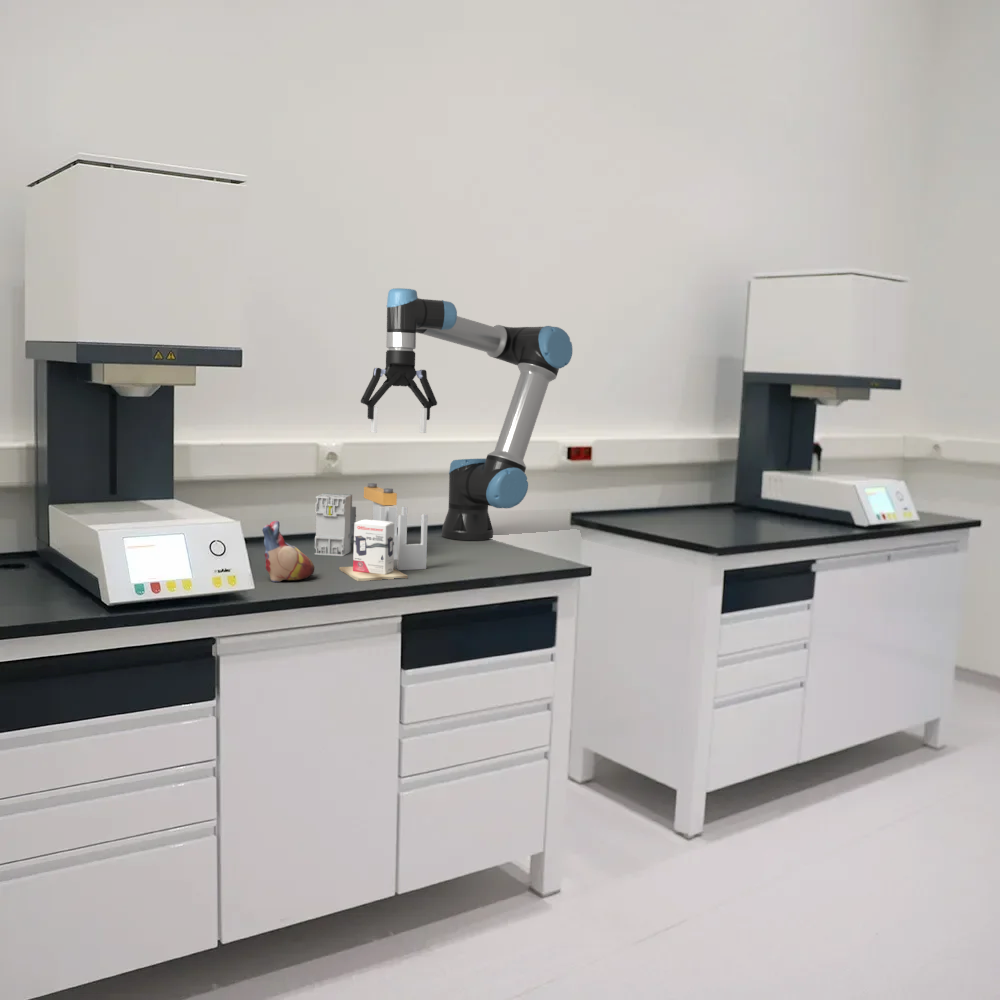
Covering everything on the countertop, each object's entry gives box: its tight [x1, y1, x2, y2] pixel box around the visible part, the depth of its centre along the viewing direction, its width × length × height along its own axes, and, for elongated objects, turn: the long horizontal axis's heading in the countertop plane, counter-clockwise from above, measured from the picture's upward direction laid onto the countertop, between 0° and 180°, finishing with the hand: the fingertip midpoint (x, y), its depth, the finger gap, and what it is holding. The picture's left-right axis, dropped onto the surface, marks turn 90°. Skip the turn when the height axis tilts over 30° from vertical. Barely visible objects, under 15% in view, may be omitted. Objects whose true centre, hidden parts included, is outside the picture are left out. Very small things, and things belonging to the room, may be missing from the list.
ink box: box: [352, 519, 395, 575], centre depth 233 cm, size 8×5×12 cm, turn 72°
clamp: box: [371, 501, 429, 571], centre depth 252 cm, size 7×26×13 cm, turn 26°
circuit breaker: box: [314, 492, 357, 557], centre depth 262 cm, size 8×14×15 cm, turn 174°
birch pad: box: [338, 565, 408, 582], centre depth 234 cm, size 12×14×1 cm
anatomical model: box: [262, 520, 315, 583], centre depth 223 cm, size 10×9×15 cm
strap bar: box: [363, 482, 398, 506], centre depth 261 cm, size 4×15×4 cm, turn 26°
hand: (398, 432), depth 259 cm, fingers open, 13 cm apart
